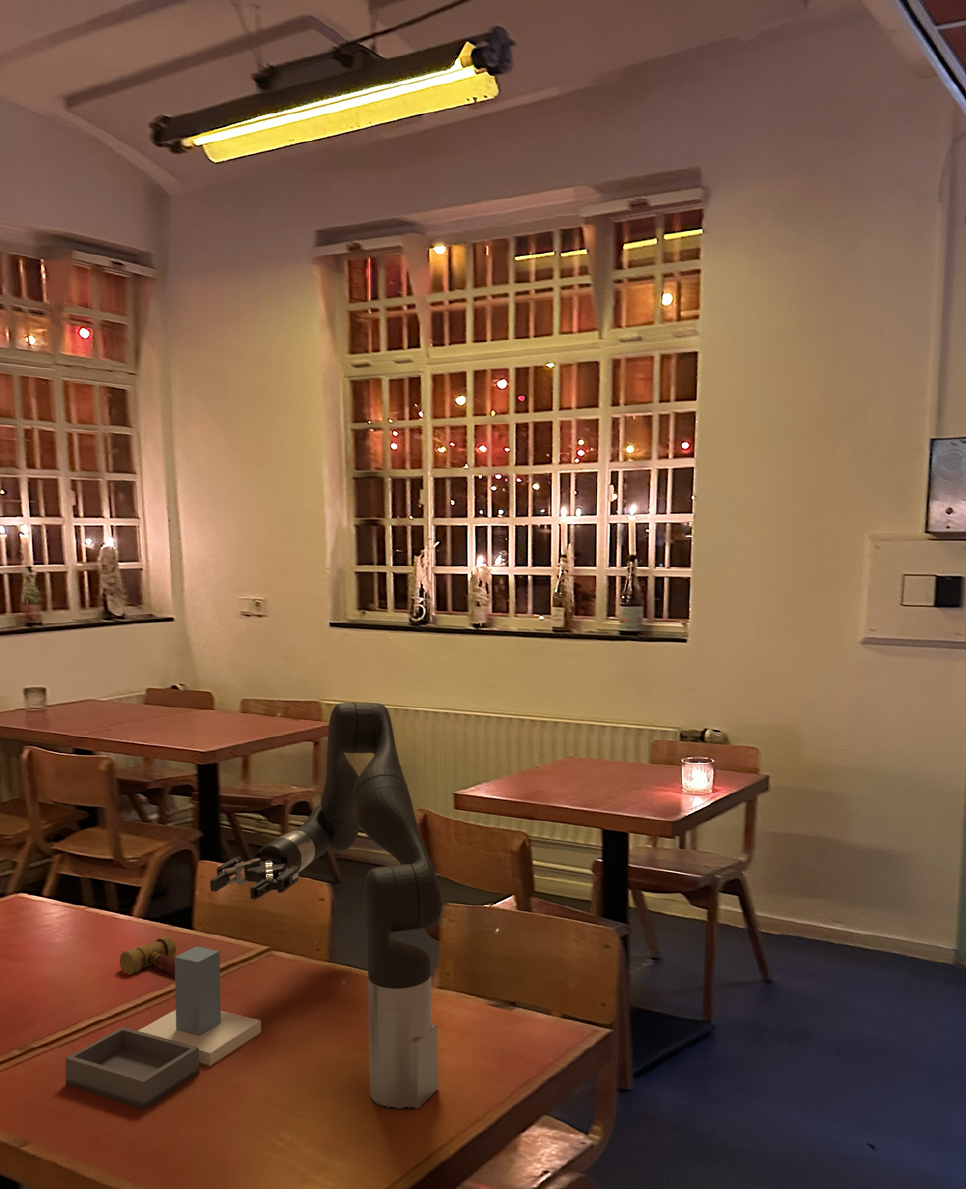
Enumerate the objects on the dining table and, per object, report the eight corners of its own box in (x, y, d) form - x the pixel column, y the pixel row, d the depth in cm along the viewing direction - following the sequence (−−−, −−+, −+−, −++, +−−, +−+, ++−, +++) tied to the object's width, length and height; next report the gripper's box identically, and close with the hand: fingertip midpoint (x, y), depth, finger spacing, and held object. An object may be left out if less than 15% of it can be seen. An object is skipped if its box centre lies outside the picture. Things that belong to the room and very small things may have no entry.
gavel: (231, 962, 181) (188, 980, 173) (231, 985, 181) (187, 1005, 173) (162, 932, 193) (119, 948, 185) (162, 954, 193) (118, 971, 185)
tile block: (220, 1022, 158) (219, 951, 158) (199, 1036, 154) (198, 962, 153) (197, 1017, 160) (196, 946, 160) (176, 1029, 156) (174, 957, 156)
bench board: (260, 1032, 159) (260, 1020, 159) (210, 1065, 148) (210, 1052, 148) (188, 1014, 166) (188, 1002, 166) (135, 1044, 155) (135, 1032, 155)
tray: (199, 1073, 146) (198, 1047, 146) (144, 1109, 136) (143, 1081, 136) (123, 1051, 153) (122, 1026, 153) (65, 1084, 143) (65, 1057, 143)
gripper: (254, 832, 182) (197, 863, 167) (317, 842, 176) (265, 875, 161) (255, 870, 183) (199, 904, 168) (319, 881, 177) (266, 917, 162)
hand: (231, 890), depth 165 cm, fingers open, 8 cm apart
